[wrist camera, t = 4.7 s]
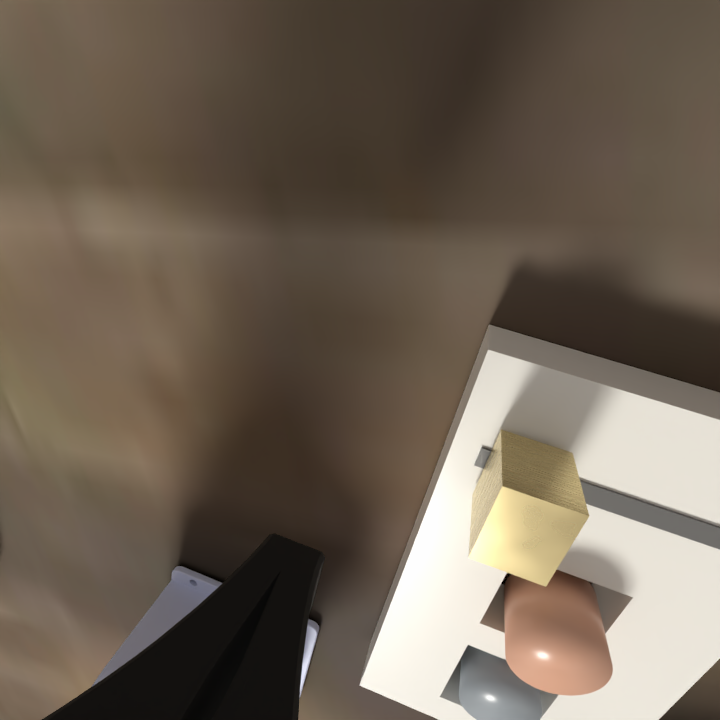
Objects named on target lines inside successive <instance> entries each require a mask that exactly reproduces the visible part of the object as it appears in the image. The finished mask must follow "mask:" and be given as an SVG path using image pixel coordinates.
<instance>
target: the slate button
mask: <svg viewBox="0 0 720 720" xmlns="http://www.w3.org/2000/svg"><path fill="white" fill-rule="evenodd" d="M459 700H460V703H461V705H462V706H463V708H464V709H465V710H466V711H467V712H468V713H469V714H470V715H471V716H472V717H473V718H475V719H476V720H540V719H541V716H542V705H541V693H540V690H539V689H537V688H535V687H532V686H531V685H529V684H527V683H525V682H524V681H522V680H521V679H520V678H519V677H517V676H516V675H515V674H514V673H513V671H512V670H511V669H510V667H509V665H508V663H507V661H506V660H505V659H502V658H500V657H497V656H495V655H492V654H490V653H487V652H485V651H482V650H480V649H477V648H475V647H472V646H470V645H468V646H467V647H466V649H465V651H464V653H463V655H462V657H461V669H460V684H459Z"/></svg>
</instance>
